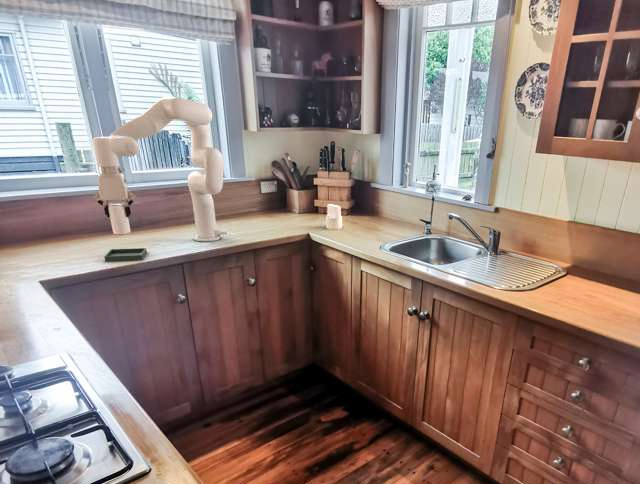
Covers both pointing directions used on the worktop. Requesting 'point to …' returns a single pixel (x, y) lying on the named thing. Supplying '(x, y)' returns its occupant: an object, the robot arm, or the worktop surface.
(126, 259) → the tray
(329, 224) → the cylinder with rectangular tab
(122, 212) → the can
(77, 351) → the worktop surface
